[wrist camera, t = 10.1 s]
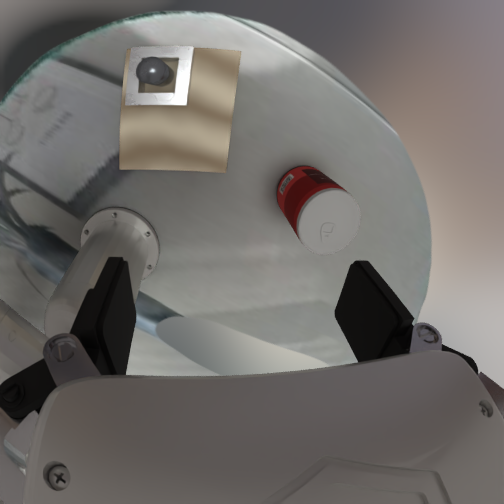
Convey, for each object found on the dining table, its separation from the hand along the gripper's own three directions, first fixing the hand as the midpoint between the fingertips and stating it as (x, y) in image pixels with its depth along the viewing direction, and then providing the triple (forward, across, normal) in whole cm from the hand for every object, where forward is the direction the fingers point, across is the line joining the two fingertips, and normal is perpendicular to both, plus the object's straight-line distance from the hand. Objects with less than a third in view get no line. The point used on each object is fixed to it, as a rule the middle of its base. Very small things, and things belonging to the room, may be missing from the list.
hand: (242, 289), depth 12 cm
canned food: (+28, -12, +4) cm, 31 cm away
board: (+28, +6, -6) cm, 29 cm away
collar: (+27, +7, -10) cm, 30 cm away
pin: (+27, +7, -10) cm, 30 cm away
